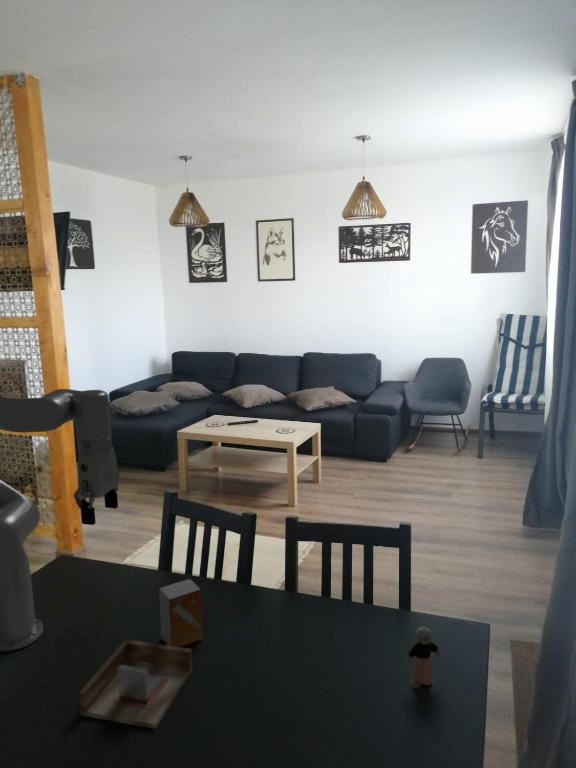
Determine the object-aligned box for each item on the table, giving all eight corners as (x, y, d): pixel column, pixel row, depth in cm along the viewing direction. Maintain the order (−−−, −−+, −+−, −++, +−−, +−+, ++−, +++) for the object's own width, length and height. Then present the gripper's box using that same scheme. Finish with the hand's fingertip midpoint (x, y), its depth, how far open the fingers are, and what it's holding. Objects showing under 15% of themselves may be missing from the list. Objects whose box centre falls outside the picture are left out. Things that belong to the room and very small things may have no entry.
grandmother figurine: (414, 693, 124) (415, 637, 121) (402, 682, 127) (403, 628, 125) (443, 681, 127) (445, 626, 125) (431, 671, 130) (432, 617, 128)
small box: (171, 651, 139) (168, 599, 137) (161, 638, 144) (158, 587, 142) (203, 639, 143) (201, 588, 141) (192, 626, 149) (189, 577, 146)
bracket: (146, 704, 120) (144, 673, 119) (119, 699, 122) (117, 668, 121) (162, 681, 127) (160, 651, 126) (137, 677, 129) (134, 647, 127)
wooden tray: (81, 715, 119) (79, 692, 119) (126, 659, 137) (125, 639, 136) (155, 729, 115) (153, 705, 115) (192, 669, 133) (191, 648, 132)
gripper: (88, 456, 129) (94, 532, 132) (128, 435, 145) (133, 503, 148) (57, 454, 130) (64, 529, 134) (100, 434, 147) (106, 500, 150)
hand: (100, 515), depth 141 cm, fingers open, 9 cm apart
